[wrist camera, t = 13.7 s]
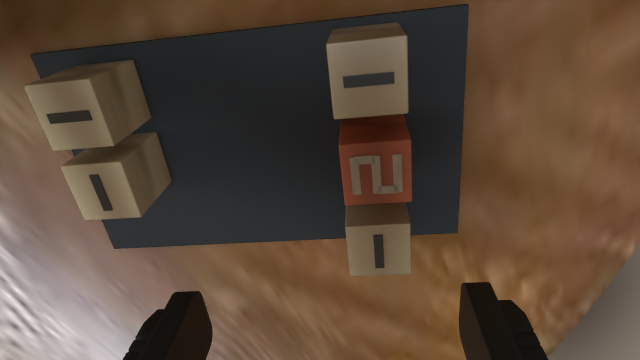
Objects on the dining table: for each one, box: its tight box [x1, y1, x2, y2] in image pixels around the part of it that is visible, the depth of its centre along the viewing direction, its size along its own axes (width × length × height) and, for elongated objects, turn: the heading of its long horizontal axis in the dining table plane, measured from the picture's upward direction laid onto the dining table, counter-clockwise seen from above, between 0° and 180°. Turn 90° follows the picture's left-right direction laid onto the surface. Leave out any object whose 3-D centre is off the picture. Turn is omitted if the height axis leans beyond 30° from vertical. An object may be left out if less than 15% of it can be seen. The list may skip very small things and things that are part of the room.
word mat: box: [30, 4, 469, 249], centre depth 29 cm, size 28×16×1 cm, turn 97°
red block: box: [339, 114, 412, 206], centre depth 26 cm, size 4×4×5 cm
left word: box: [24, 60, 172, 220], centre depth 27 cm, size 4×9×5 cm, turn 7°
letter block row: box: [326, 22, 411, 276], centre depth 26 cm, size 4×15×5 cm, turn 7°
